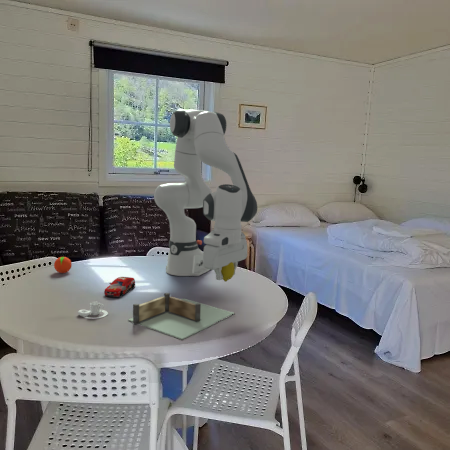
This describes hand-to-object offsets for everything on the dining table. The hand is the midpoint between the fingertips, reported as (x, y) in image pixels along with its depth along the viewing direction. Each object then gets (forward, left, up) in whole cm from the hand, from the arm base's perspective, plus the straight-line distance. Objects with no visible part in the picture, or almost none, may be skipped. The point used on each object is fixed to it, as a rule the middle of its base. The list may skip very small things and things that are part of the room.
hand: (225, 277), depth 142 cm
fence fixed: (+19, -15, -12) cm, 27 cm away
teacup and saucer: (+28, -34, -13) cm, 46 cm away
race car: (+8, -42, -13) cm, 45 cm away
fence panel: (+13, -7, -11) cm, 18 cm away
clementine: (+7, -78, -12) cm, 80 cm away
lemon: (0, 0, -2) cm, 2 cm away
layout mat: (+12, -8, -12) cm, 19 cm away
